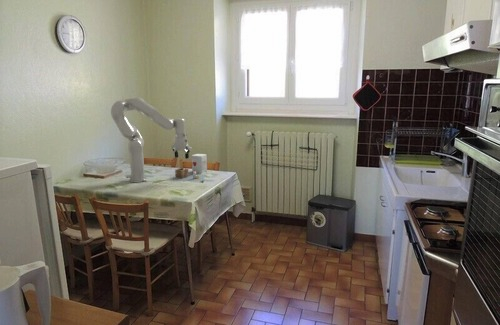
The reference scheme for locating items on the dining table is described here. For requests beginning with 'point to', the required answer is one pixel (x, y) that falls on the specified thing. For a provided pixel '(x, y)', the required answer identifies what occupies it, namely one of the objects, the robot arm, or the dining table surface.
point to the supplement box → (199, 163)
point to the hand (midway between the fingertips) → (181, 157)
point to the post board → (191, 178)
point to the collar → (181, 173)
